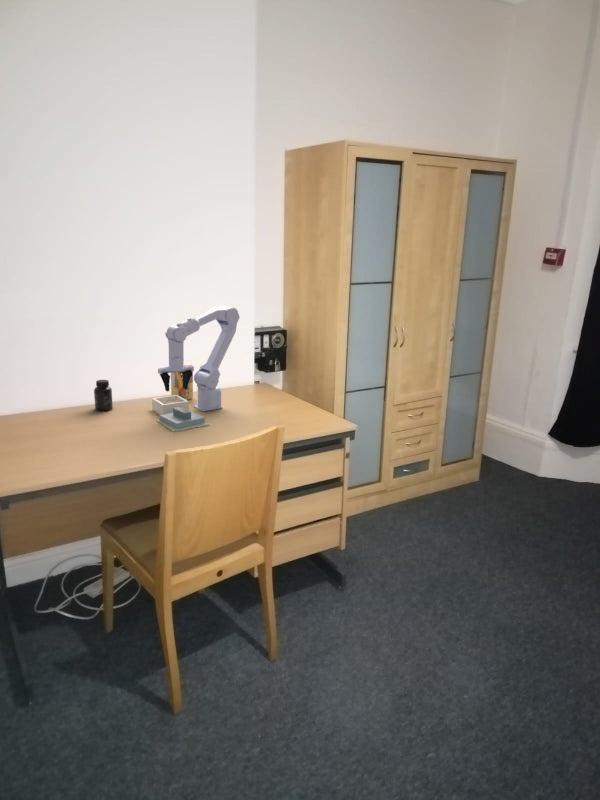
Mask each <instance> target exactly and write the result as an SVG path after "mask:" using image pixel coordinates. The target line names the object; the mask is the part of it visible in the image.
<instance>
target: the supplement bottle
mask: <svg viewBox="0 0 600 800" xmlns="http://www.w3.org/2000/svg"><path fill="white" fill-rule="evenodd" d="M109 381H110V380H108V379H99V380H96V381H95V383H96V384H95V386H96V387H94V390H93V395H94V396H93V397H94V408H95V410H96V412H101V411H104V412H109V410H110V411H111V410H112V409H113V408H114V406H113V391H112V387H111V386H110V383H109Z"/></svg>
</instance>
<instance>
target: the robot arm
mask: <svg viewBox="0 0 600 800" xmlns="http://www.w3.org/2000/svg"><path fill="white" fill-rule="evenodd" d="M215 320H216V321H217V323H218V325H219V326H220V328H221V331H220V334H219V336H218V338H217V339H216V342H215V344H214V346H213V348H212V351H211V353H210V355H209V357H208V359H207V360H206V363H204V364H202V365H201V366H200V367H199V369H198V370H197V371H196V372H195V374H193V372H194V371H195V366H194V365H193V366H192V364H190V365H191V366H184V364H185V363H184V354H185V353H184V349H185V348H184V346H185V345H184V342H185V341H186V339H187V337H188V336H190V335H193V334H194V333H197V332H199V330H200V328H201V326H204V325H206V324H209V323H211V322H213V321H215ZM239 320H240V314H239V310H238V309H237V308H236V307H229V306H225V305H222V304H218V305H217V306H213V307H212V308H211V309H210V310H208V311H207V312H205V313H203V314H202V315H200V316H198V317H196V318H195V317H190V316H189V317H187V318H186V319H185V320H184V321H182V322H178V323H177V324H176V325H170V326H168V328H167V329H166V332H165V334H164V335H165V337H166V339H167V343H168V366H165V367H160V368H159V367H158V368H157V374H159V376H160V378H161V380H162V383H163V385H164V388H165V389H164V390H165V391H166V392H170V382H171V373H174V372H182V376H183V388H184V389H187V386H188V383H189V380H190V378H191V376H192V375H193V382H194V383H195V384H196V387H197V404H195V405H194V406H193V407H194V408H196V409H198V410H199V411H201V412H206V411H213V410H218V409H222V408H223V406H222V390H221V388H220V387H219V386H218V384H219V379H220V376H221V372H220V370H219V368H220V365H221V364H222V362H223V360H224V357H225V355H226V353H227V351H228V349H229V347H230V345H231V342H232V341H233V339H234V337H235V334H236V332H237V324H238V322H239ZM191 371H193V372H191Z"/></svg>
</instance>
